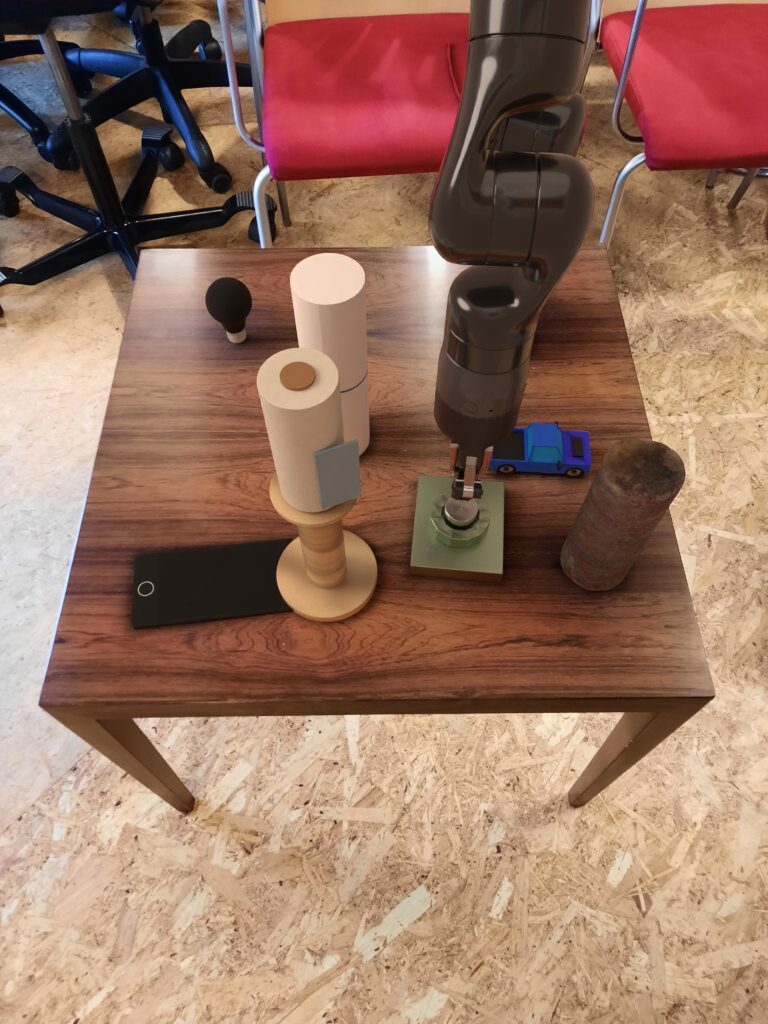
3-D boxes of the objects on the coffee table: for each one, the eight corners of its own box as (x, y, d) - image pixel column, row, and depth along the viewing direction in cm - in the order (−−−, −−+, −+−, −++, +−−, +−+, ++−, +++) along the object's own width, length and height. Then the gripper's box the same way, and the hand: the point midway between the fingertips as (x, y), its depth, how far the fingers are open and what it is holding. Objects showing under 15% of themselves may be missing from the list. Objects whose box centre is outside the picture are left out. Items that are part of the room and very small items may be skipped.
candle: (608, 609, 79) (669, 512, 62) (546, 577, 81) (589, 474, 64) (635, 556, 82) (700, 450, 65) (574, 526, 84) (623, 416, 67)
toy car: (587, 485, 87) (597, 461, 83) (486, 480, 88) (491, 455, 83) (583, 440, 91) (593, 415, 86) (486, 435, 91) (490, 410, 87)
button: (444, 500, 82) (445, 492, 80) (476, 503, 82) (478, 494, 80) (442, 528, 80) (443, 520, 79) (475, 531, 80) (477, 523, 78)
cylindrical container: (362, 466, 89) (356, 309, 67) (305, 456, 90) (281, 298, 68) (375, 420, 92) (372, 258, 71) (319, 411, 93) (300, 248, 72)
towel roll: (271, 468, 66) (245, 358, 54) (336, 447, 68) (326, 334, 55) (293, 524, 63) (271, 419, 51) (361, 500, 64) (355, 393, 52)
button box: (417, 484, 87) (419, 465, 84) (501, 491, 87) (506, 472, 83) (409, 574, 81) (410, 557, 78) (500, 582, 81) (505, 566, 77)
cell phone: (137, 558, 83) (134, 554, 82) (296, 541, 84) (296, 537, 83) (132, 631, 78) (130, 627, 77) (301, 612, 79) (300, 608, 78)
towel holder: (286, 528, 84) (264, 432, 69) (382, 537, 84) (381, 441, 68) (269, 617, 78) (241, 533, 63) (371, 626, 78) (368, 544, 63)
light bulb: (268, 336, 100) (257, 278, 92) (241, 363, 97) (228, 306, 89) (234, 319, 102) (221, 261, 93) (207, 345, 99) (191, 288, 91)
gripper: (525, 447, 58) (496, 552, 73) (525, 328, 65) (499, 446, 80) (431, 439, 59) (421, 545, 74) (441, 322, 66) (430, 440, 81)
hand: (462, 493), depth 77 cm, fingers closed
